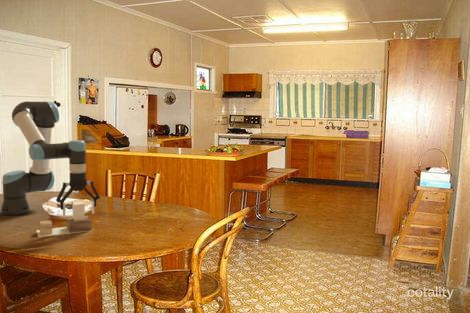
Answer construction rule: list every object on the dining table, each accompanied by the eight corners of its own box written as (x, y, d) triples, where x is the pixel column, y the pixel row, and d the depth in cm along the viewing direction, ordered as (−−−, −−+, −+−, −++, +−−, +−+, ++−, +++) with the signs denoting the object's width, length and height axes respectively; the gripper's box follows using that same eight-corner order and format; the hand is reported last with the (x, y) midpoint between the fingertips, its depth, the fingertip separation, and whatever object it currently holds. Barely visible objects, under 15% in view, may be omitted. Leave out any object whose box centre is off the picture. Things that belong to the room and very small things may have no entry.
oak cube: (40, 231, 208) (39, 221, 207) (51, 230, 210) (51, 220, 209) (41, 234, 203) (40, 224, 203) (52, 233, 206) (52, 223, 205)
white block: (72, 218, 214) (72, 202, 213) (83, 217, 216) (82, 201, 215) (74, 220, 210) (73, 204, 209) (84, 219, 212) (84, 203, 211)
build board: (36, 231, 210) (36, 230, 210) (87, 226, 221) (87, 224, 221) (38, 238, 200) (38, 237, 199) (91, 232, 211) (91, 230, 211)
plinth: (67, 227, 216) (66, 217, 215) (87, 225, 220) (87, 215, 220) (69, 232, 207) (69, 222, 206) (91, 230, 212) (91, 220, 211)
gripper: (51, 174, 201) (52, 218, 204) (105, 171, 213) (106, 213, 215) (49, 172, 207) (50, 215, 210) (102, 169, 219) (103, 210, 222)
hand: (78, 214), depth 213 cm, fingers open, 13 cm apart
